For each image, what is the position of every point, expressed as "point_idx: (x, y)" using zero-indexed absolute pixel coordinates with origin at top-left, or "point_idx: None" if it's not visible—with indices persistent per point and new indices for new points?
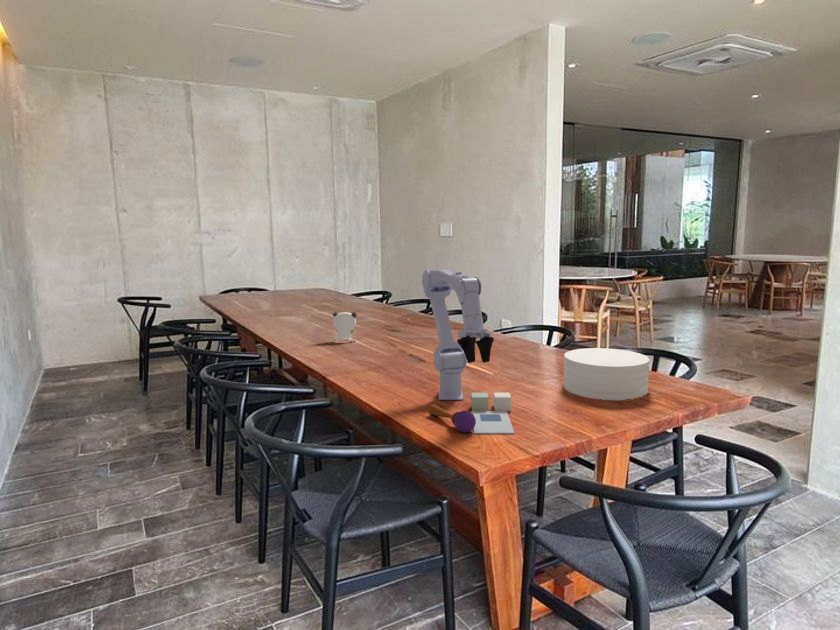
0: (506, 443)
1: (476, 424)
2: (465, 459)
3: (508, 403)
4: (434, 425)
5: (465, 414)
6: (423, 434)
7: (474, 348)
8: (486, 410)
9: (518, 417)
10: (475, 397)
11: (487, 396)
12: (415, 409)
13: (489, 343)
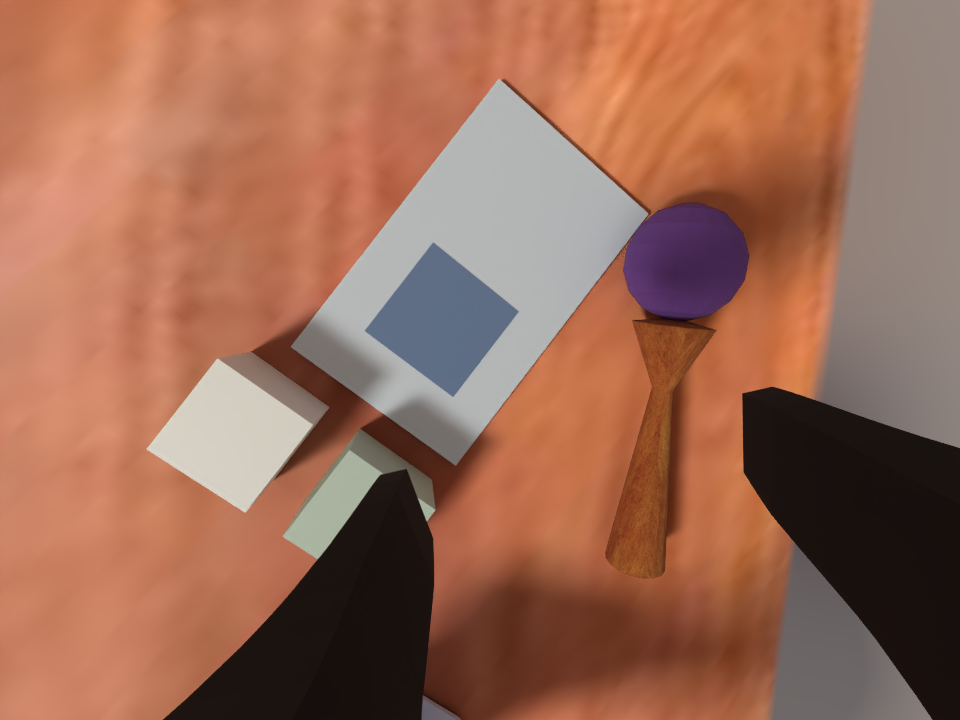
0: (612, 24)
1: (568, 290)
2: (854, 23)
3: (249, 366)
4: (708, 419)
5: (730, 230)
6: (809, 356)
7: (942, 479)
8: (368, 435)
9: (297, 245)
10: (419, 498)
11: (342, 468)
12: (640, 657)
13: (291, 707)
